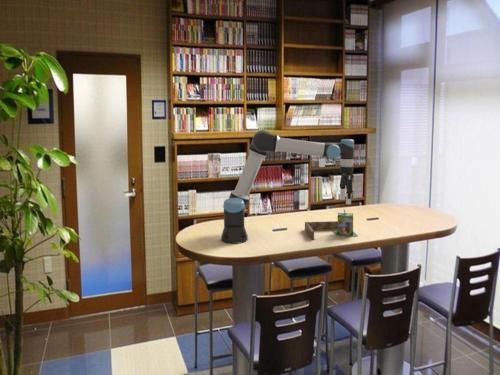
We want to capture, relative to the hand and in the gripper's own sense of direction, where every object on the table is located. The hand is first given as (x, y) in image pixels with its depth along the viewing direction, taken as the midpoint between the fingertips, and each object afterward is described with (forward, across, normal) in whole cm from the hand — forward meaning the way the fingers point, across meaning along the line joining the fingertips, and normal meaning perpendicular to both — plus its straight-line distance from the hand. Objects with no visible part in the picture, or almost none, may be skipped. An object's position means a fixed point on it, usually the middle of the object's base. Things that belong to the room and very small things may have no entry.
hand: (345, 202), depth 271 cm
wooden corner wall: (+19, 0, +7) cm, 21 cm away
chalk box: (+19, 0, -1) cm, 19 cm away
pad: (+19, 0, -1) cm, 19 cm away
